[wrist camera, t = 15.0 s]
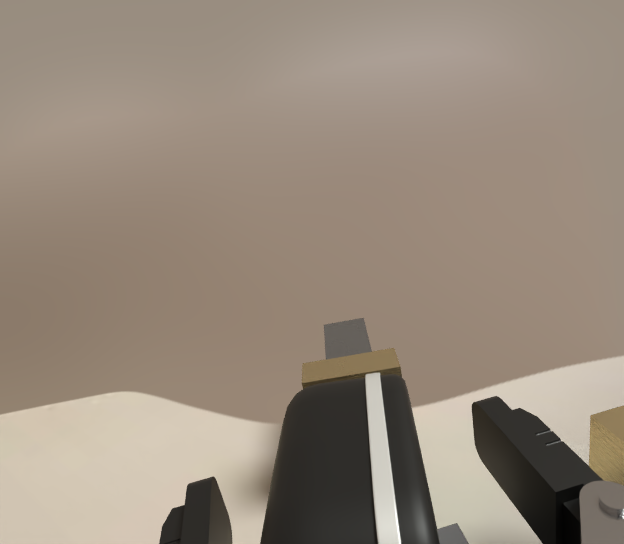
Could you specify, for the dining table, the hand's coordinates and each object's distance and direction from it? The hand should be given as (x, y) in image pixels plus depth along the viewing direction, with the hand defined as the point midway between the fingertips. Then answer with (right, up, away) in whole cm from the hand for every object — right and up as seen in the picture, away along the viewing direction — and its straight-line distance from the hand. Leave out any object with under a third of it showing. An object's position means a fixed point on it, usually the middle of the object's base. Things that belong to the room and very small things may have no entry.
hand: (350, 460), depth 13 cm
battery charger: (+2, -9, +1) cm, 9 cm away
